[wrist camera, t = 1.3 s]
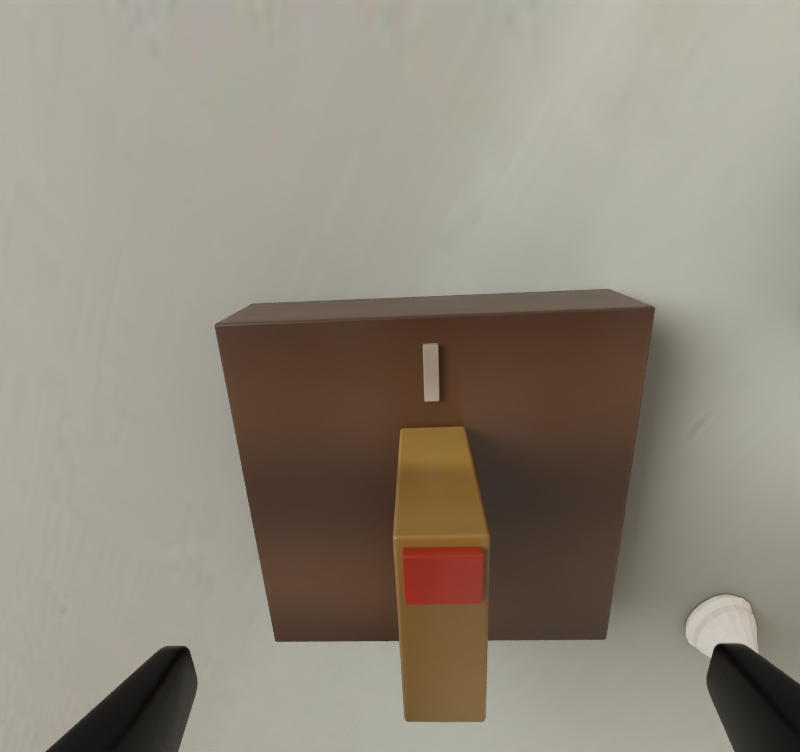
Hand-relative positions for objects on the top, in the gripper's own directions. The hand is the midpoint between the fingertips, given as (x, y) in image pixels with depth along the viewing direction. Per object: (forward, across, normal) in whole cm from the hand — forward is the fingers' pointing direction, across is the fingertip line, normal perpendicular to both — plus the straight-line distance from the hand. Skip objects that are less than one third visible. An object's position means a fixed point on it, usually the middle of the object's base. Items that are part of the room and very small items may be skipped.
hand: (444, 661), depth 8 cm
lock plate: (+7, 0, 0) cm, 7 cm away
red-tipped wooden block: (+4, 0, 0) cm, 4 cm away
